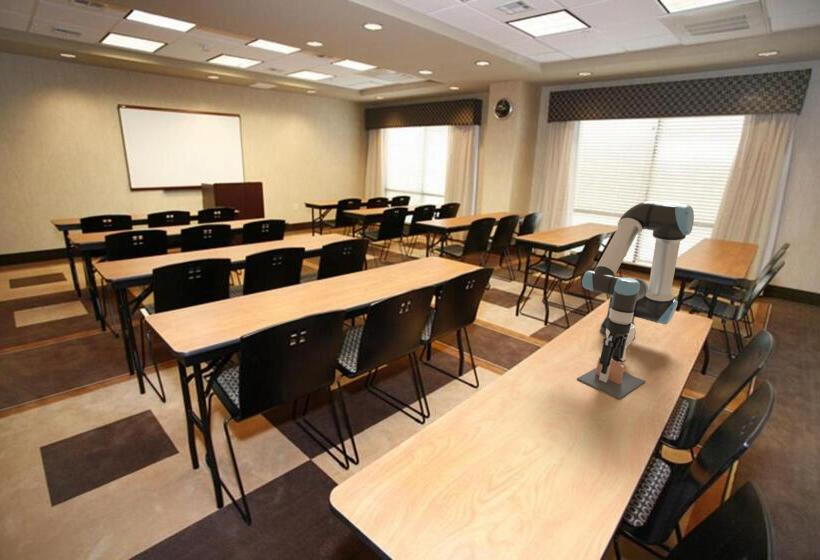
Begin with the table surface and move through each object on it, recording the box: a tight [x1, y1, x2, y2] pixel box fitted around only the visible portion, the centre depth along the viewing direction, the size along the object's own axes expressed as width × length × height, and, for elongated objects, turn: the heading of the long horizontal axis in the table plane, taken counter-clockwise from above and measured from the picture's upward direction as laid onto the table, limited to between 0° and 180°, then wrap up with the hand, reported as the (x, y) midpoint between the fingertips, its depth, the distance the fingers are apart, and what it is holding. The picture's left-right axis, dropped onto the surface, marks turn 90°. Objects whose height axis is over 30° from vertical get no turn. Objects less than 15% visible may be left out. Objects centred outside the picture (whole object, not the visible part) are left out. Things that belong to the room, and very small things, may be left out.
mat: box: [576, 367, 646, 400], centre depth 152 cm, size 20×16×1 cm
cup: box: [605, 323, 636, 362], centre depth 169 cm, size 11×11×15 cm
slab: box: [596, 356, 625, 384], centre depth 152 cm, size 2×9×7 cm, turn 37°
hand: (607, 378), depth 152 cm, fingers open, 5 cm apart
